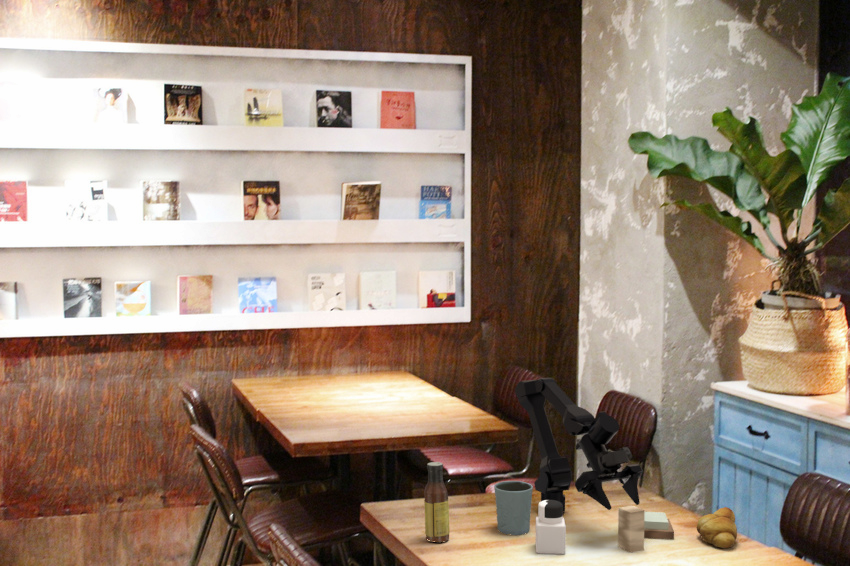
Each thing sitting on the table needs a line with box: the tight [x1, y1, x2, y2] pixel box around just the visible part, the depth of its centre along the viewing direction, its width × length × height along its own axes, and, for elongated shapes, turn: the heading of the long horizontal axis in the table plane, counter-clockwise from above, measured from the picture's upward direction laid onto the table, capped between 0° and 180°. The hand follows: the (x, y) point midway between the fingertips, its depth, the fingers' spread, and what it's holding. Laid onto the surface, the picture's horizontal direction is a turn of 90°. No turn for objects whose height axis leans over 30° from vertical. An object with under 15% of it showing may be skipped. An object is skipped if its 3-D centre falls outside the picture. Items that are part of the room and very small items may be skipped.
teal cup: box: [493, 480, 534, 536], centre depth 233 cm, size 10×10×12 cm
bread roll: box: [696, 506, 738, 549], centre depth 224 cm, size 13×10×8 cm
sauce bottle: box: [423, 461, 450, 543], centre depth 225 cm, size 7×6×20 cm
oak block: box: [617, 505, 646, 553], centre depth 219 cm, size 4×4×10 cm
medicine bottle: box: [535, 500, 567, 555], centre depth 218 cm, size 7×7×12 cm
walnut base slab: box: [644, 518, 675, 540], centre depth 232 cm, size 11×11×2 cm
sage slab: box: [644, 511, 669, 530], centre depth 232 cm, size 8×8×2 cm
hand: (624, 506), depth 221 cm, fingers open, 9 cm apart
